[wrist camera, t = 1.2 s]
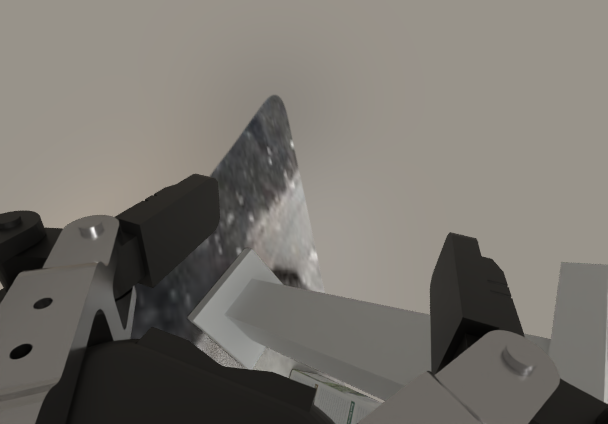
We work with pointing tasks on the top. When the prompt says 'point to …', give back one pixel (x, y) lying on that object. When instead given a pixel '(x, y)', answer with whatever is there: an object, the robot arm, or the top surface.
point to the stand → (386, 329)
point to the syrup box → (337, 398)
